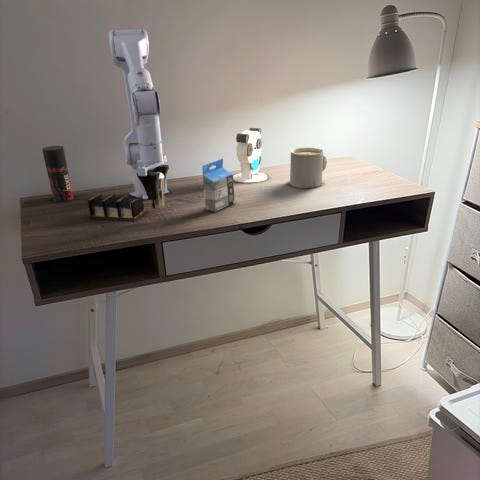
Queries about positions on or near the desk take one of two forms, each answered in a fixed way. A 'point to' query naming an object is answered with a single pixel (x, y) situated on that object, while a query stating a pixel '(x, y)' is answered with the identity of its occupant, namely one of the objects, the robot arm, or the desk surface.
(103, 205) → the letter rack
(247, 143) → the panda figurine
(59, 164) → the deodorant
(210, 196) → the label tape box
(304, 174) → the coffee mug
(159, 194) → the milkshake
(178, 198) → the desk surface
